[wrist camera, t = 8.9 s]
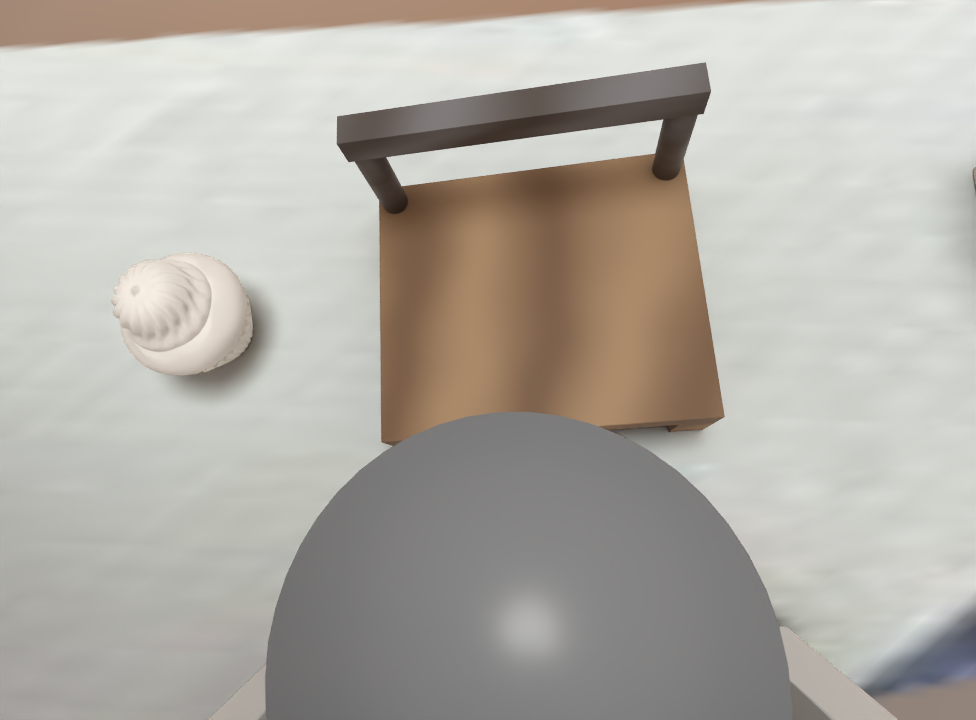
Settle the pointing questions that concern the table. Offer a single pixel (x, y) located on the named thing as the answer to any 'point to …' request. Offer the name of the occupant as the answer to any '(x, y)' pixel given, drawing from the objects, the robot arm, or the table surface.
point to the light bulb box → (975, 175)
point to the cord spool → (523, 588)
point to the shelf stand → (542, 263)
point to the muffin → (183, 313)
